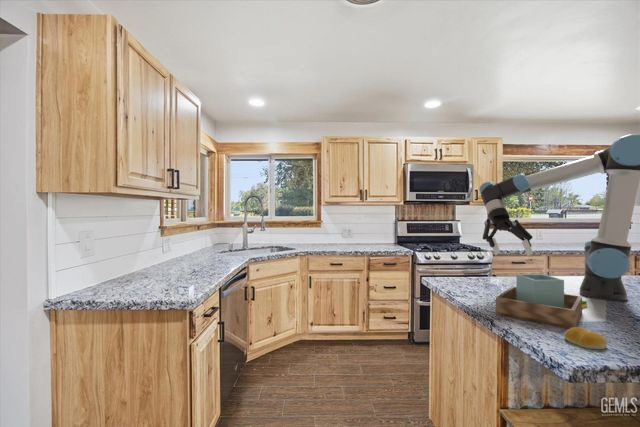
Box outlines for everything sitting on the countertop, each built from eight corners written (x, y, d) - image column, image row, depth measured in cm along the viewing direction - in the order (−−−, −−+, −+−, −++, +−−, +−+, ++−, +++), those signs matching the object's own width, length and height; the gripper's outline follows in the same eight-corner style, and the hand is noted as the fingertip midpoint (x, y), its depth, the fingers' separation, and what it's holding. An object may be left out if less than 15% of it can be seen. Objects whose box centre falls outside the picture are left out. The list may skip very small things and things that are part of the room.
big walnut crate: (582, 313, 115) (582, 296, 115) (574, 330, 99) (574, 310, 99) (512, 301, 130) (512, 286, 130) (495, 314, 114) (495, 297, 114)
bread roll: (595, 353, 84) (595, 337, 84) (559, 340, 92) (559, 326, 92) (614, 347, 87) (614, 333, 87) (578, 335, 95) (578, 322, 95)
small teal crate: (543, 306, 120) (543, 274, 119) (564, 315, 110) (564, 280, 109) (516, 306, 119) (516, 274, 119) (534, 315, 109) (534, 280, 109)
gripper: (520, 217, 147) (538, 259, 134) (466, 216, 146) (479, 257, 133) (529, 207, 141) (549, 250, 128) (473, 205, 140) (488, 248, 127)
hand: (514, 254), depth 131 cm, fingers open, 13 cm apart
